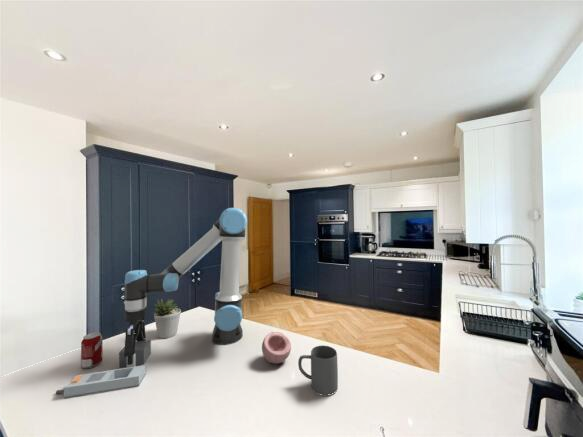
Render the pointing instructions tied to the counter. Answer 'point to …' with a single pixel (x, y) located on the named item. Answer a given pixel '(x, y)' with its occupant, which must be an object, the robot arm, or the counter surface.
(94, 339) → the soda can
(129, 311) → the robot arm
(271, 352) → the pink round pot
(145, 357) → the plug
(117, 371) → the socket strip
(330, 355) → the mug
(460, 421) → the counter surface
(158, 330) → the potted plant
